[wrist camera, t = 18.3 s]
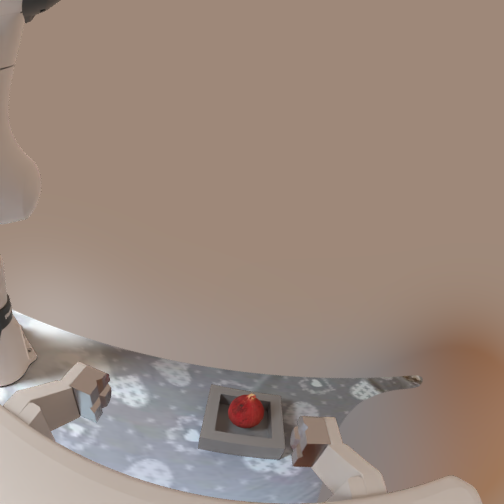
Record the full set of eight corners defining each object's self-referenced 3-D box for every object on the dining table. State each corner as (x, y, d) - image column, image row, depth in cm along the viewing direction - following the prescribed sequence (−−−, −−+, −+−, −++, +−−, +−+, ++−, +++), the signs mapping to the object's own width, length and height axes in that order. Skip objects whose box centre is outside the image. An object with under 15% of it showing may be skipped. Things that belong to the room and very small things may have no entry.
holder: (279, 459, 34) (285, 448, 34) (197, 448, 34) (199, 436, 33) (275, 407, 47) (280, 395, 46) (209, 396, 47) (211, 384, 46)
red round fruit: (237, 441, 36) (247, 412, 34) (218, 418, 41) (225, 388, 39) (265, 429, 40) (277, 400, 38) (245, 409, 44) (255, 379, 42)
